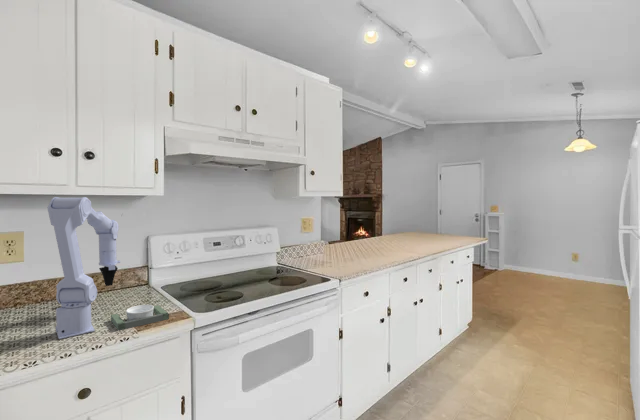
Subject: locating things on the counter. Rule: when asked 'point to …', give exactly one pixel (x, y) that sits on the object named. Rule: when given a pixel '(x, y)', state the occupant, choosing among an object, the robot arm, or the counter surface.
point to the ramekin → (139, 312)
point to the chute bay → (159, 316)
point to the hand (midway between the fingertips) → (108, 285)
